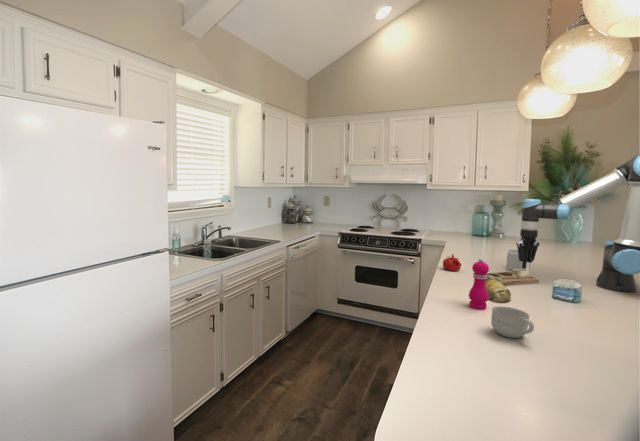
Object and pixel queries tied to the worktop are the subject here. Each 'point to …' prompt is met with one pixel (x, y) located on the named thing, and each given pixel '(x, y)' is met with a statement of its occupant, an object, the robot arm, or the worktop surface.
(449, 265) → the pomegranate
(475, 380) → the worktop surface
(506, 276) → the board
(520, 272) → the birch block
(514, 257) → the can
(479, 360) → the worktop surface
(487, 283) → the pastry
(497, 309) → the teacup
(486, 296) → the pepper mill
